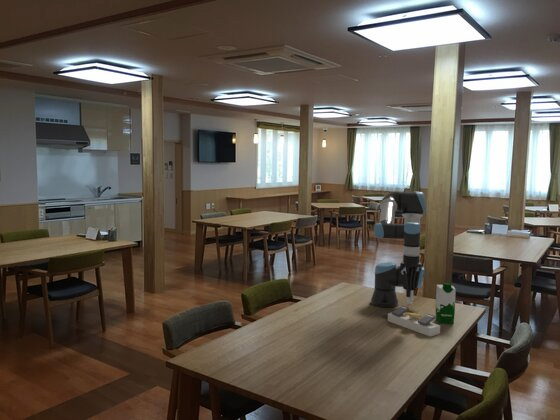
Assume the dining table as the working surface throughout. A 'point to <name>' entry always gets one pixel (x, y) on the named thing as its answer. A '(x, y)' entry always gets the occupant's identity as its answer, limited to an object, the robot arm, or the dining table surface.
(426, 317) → the plate
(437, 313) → the milk carton
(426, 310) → the dining table surface
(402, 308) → the block
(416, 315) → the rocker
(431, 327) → the rocker switch panel
